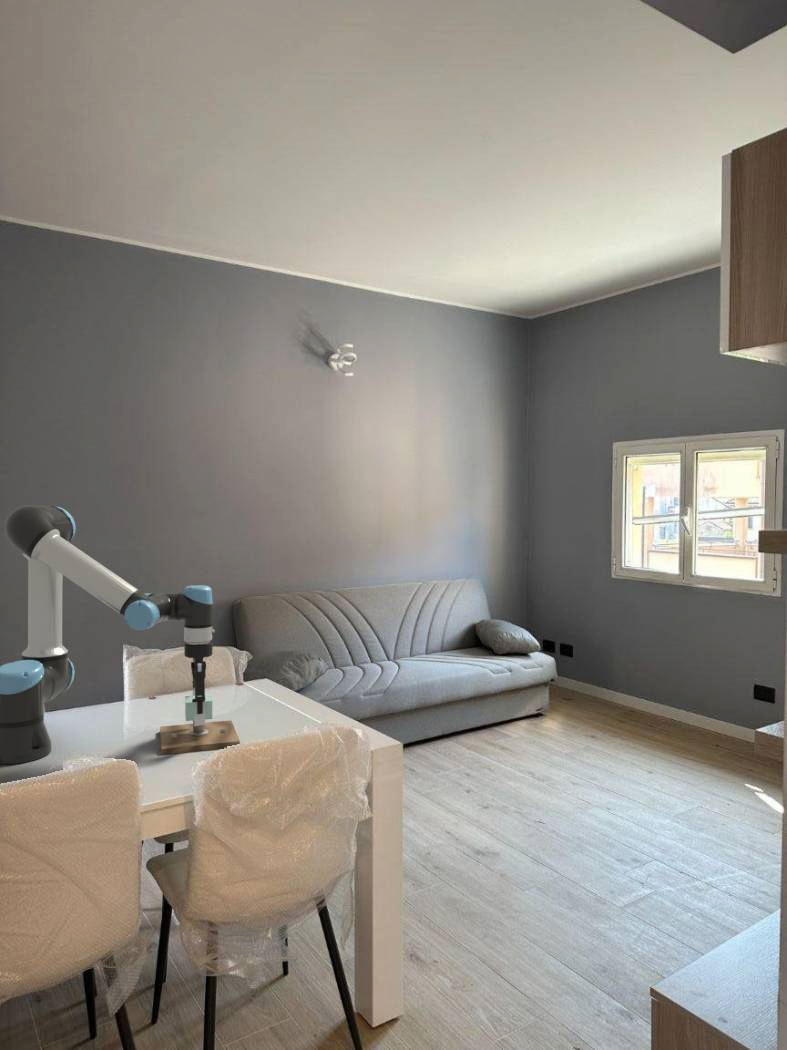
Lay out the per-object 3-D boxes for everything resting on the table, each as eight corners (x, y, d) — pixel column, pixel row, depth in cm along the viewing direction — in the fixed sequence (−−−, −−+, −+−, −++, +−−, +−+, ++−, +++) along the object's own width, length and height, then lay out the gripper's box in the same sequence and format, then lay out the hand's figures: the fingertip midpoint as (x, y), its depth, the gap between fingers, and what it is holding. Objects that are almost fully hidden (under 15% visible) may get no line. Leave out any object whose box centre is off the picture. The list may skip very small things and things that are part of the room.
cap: (212, 718, 199) (212, 699, 198) (185, 721, 197) (185, 701, 196) (210, 710, 207) (210, 692, 206) (185, 712, 205) (185, 693, 204)
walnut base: (161, 754, 188) (161, 731, 188) (160, 731, 207) (160, 710, 207) (239, 746, 195) (239, 724, 195) (231, 725, 214) (231, 705, 214)
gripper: (215, 649, 190) (215, 730, 190) (209, 633, 213) (210, 705, 214) (185, 651, 187) (185, 732, 188) (183, 634, 211) (183, 707, 212)
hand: (198, 718), depth 201 cm, fingers open, 13 cm apart
